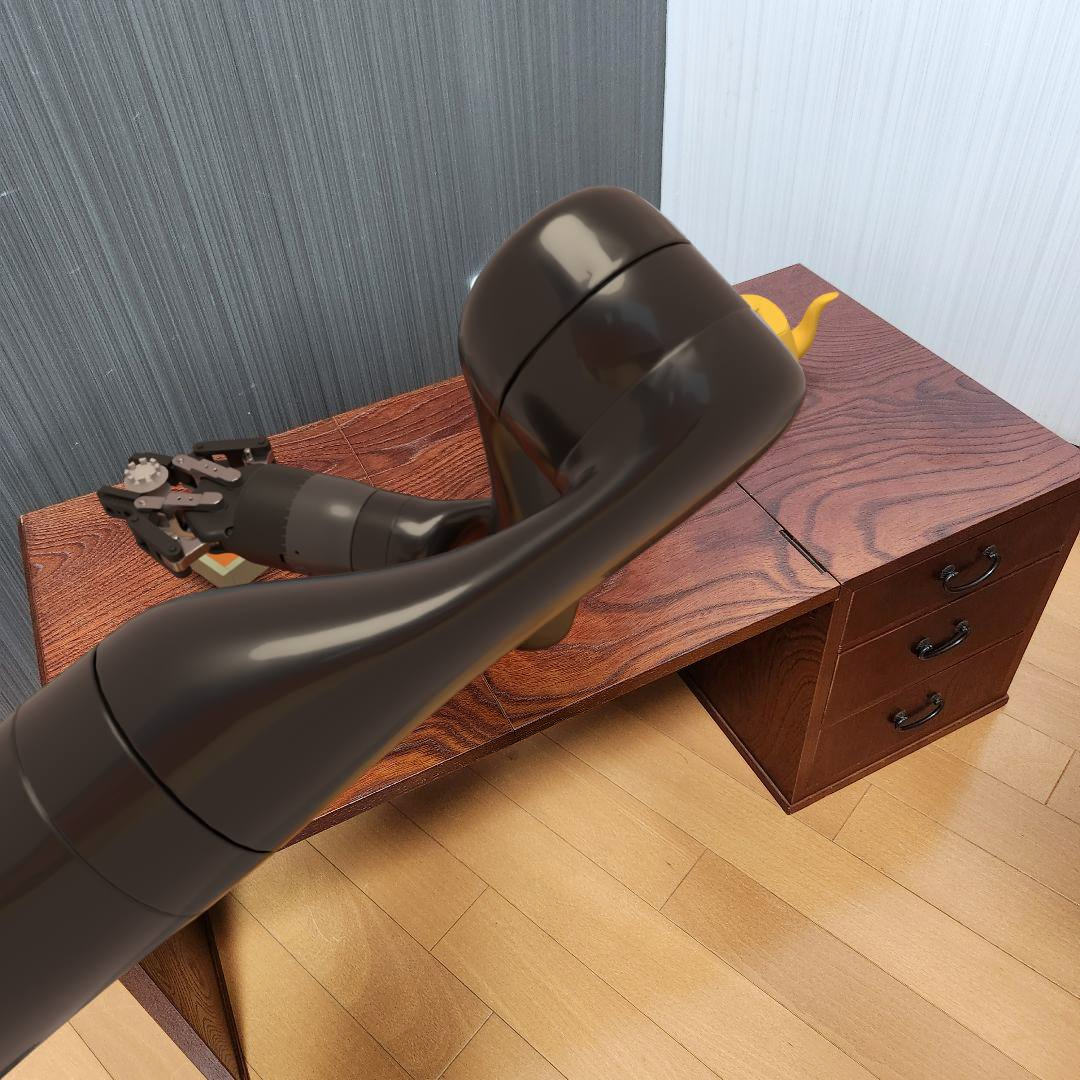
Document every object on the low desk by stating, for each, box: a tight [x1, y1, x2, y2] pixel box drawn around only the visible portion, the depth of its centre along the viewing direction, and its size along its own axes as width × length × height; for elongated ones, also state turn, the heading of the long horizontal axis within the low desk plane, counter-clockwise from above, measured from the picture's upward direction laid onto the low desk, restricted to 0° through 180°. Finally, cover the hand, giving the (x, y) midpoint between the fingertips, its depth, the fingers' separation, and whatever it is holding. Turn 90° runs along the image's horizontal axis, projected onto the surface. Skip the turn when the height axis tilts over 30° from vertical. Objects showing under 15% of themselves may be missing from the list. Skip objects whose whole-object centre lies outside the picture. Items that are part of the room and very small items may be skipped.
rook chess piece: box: [123, 458, 196, 540], centre depth 72 cm, size 4×4×8 cm
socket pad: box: [190, 553, 270, 588], centre depth 91 cm, size 13×7×3 cm, turn 142°
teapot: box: [740, 291, 840, 364], centre depth 101 cm, size 14×14×12 cm
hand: (119, 481), depth 71 cm, fingers closed on rook chess piece, 3 cm apart
